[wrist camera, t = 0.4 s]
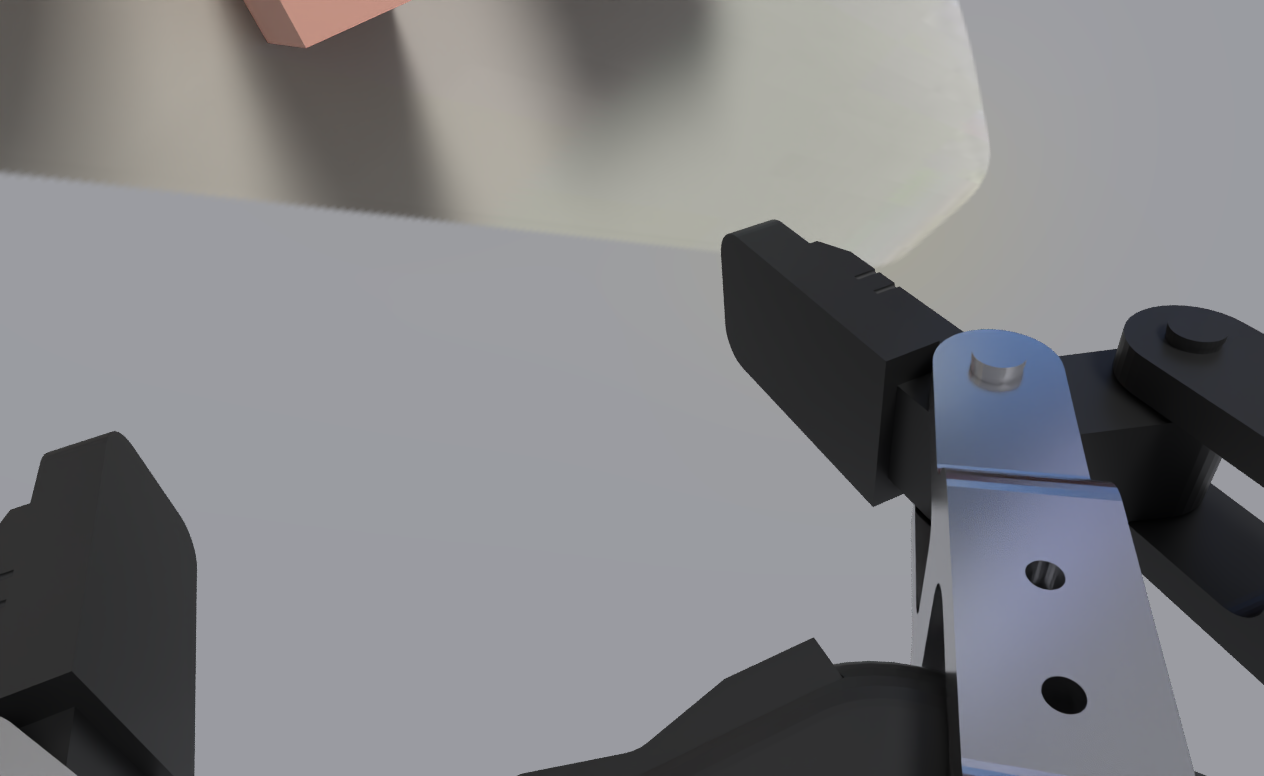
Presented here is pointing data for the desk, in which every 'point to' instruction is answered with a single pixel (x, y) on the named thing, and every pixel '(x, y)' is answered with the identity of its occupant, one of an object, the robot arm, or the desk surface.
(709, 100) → the desk surface
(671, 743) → the robot arm
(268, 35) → the brick-red block
